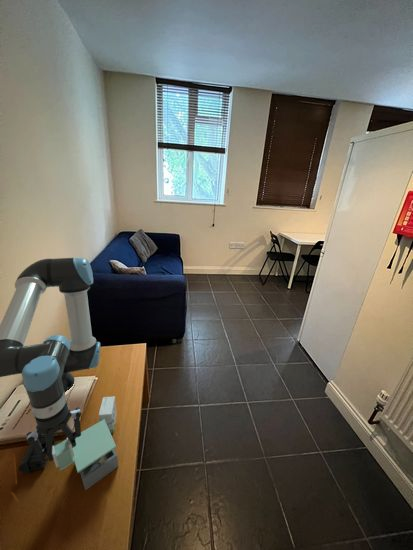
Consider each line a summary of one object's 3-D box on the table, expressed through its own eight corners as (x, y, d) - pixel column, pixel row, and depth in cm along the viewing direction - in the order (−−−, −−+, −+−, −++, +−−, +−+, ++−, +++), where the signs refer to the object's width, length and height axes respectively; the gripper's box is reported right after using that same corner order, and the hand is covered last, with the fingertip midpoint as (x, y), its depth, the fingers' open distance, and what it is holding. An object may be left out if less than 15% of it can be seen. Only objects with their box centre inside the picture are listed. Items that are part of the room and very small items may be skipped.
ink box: (114, 434, 91) (111, 414, 87) (101, 436, 90) (97, 416, 86) (117, 414, 99) (115, 395, 95) (105, 416, 98) (102, 396, 94)
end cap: (35, 445, 86) (31, 433, 83) (56, 442, 87) (53, 430, 84) (21, 476, 77) (16, 464, 74) (44, 472, 78) (40, 460, 75)
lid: (55, 450, 75) (51, 435, 72) (104, 421, 85) (102, 407, 82) (63, 484, 67) (58, 469, 64) (116, 448, 77) (114, 434, 74)
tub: (76, 461, 82) (74, 449, 79) (107, 441, 88) (106, 430, 86) (85, 491, 74) (82, 479, 71) (118, 467, 81) (117, 455, 78)
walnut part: (99, 466, 80) (98, 461, 79) (106, 458, 83) (105, 453, 81) (104, 471, 79) (103, 466, 78) (111, 463, 81) (111, 458, 80)
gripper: (13, 437, 54) (34, 490, 63) (87, 400, 65) (96, 450, 74) (11, 414, 59) (30, 466, 68) (80, 383, 70) (89, 431, 79)
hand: (64, 458), depth 71 cm, fingers closed on lid, 3 cm apart
